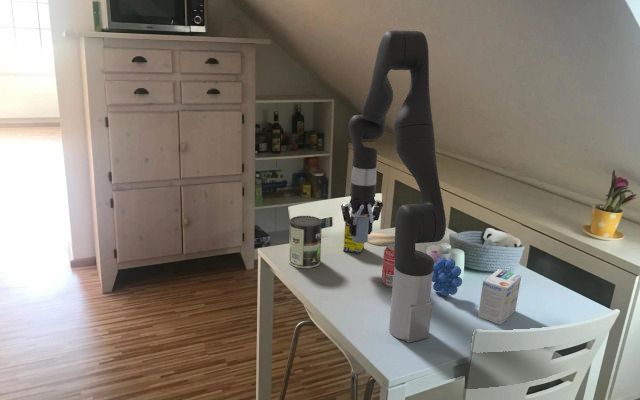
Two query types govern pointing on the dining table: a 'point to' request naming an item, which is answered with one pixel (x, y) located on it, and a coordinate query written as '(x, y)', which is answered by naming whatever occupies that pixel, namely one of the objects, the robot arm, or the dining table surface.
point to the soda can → (388, 265)
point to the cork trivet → (380, 238)
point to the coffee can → (305, 241)
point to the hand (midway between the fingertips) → (360, 234)
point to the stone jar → (362, 229)
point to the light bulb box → (499, 296)
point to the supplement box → (351, 242)
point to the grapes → (446, 277)
